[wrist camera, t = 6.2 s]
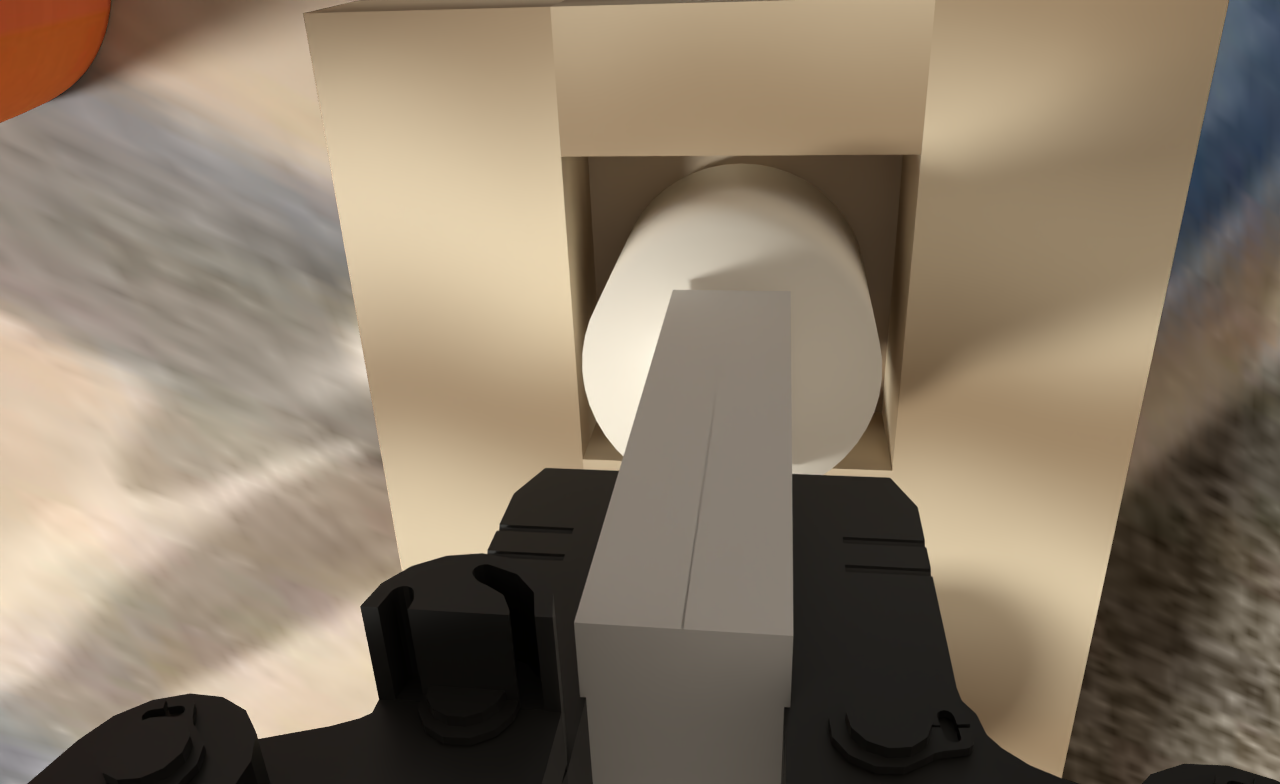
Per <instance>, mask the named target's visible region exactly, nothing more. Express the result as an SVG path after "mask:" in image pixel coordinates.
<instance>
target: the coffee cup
mask: <svg viewBox="0 0 1280 784" xmlns="http://www.w3.org/2000/svg"><path fill="white" fill-rule="evenodd" d="M110 7H111V0H0V123H1V122H3V121H6V120H8V119H10V118H13V117H15V116H18V115H20V114H22V113H25V112H27V111H29V110H31V109H33V108H35V107H37V106H40V105H42V104H44V103H46V102H48V101H50V100H52V99H53V98H55V97H57V96H58V95H60V94H61V93H63V92H64V91H66V90H67V89H68V88H70V87H71V86H72V85H73V84H74V83H75V82H77V81H78V80H79V79H80V78H81V76H82V75H83V74H84V73H85V72H86V71H87V69H88V68H89V66H90V65H91V64H92V62H93V60H94V58H95V57H96V55H97V53H98V51H99V49H100V46H101V44H102V41H103V39H104V36H105V33H106V29H107V25H108V20H109V14H110Z"/></svg>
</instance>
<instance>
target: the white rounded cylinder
mask: <svg viewBox="0 0 1280 784" xmlns="http://www.w3.org/2000/svg"><path fill="white" fill-rule="evenodd" d="M673 290H738V291H791V400H792V474H809V475H824V474H825V473H827V472H828V471H830V470H831V469H832V468H833V467H834V466H836V465H837V464H838V463H839V462H840V461H841V460H842V459H844V458H845V457H846V455H847V454H848V453H849V452H850V451H851V450H852V449H853V447H854V446H855V445H856V444H857V442H858V441H859V439H860V438H861V436H862V435H863V433H864V432H865V430H866V429H867V427H868V425H869V422H870V420H871V418H872V416H873V414H874V411H875V408H876V405H877V402H878V398H879V394H880V388H881V381H882V356H881V349H880V342H879V337H878V333H877V328H876V323H875V318H874V314H873V309H872V304H871V299H870V295H869V290H868V285H867V280H866V276H865V271H864V266H863V261H862V257H861V253H860V249H859V246H858V243H857V240H856V237H855V235H854V233H853V231H852V229H851V226H850V225H849V223H848V222H847V220H846V218H845V217H844V215H843V214H842V212H841V211H840V210H839V209H838V208H837V206H836V205H835V204H834V203H833V202H832V201H831V200H830V199H829V198H828V197H827V196H826V195H825V194H824V193H823V192H821V191H820V190H819V189H818V188H816V187H815V186H813V185H812V184H810V183H809V182H807V181H806V180H804V179H802V178H800V177H798V176H796V175H794V174H792V173H789V172H786V171H783V170H780V169H777V168H774V167H769V166H764V165H758V164H743V163H740V164H725V165H720V166H715V167H710V168H706V169H703V170H701V171H698V172H695V173H692V174H690V175H688V176H686V177H684V178H682V179H680V180H678V181H676V182H675V183H674V184H672V185H671V186H669V187H668V188H666V189H665V190H664V191H662V192H661V193H660V194H659V195H658V196H657V197H656V198H655V199H653V200H652V202H651V203H650V204H649V205H648V206H647V207H646V209H645V210H644V211H643V212H642V214H641V215H640V217H639V218H638V220H637V221H636V223H635V225H634V227H633V229H632V231H631V233H630V235H629V237H628V239H627V241H626V244H625V246H624V248H623V250H622V252H621V254H620V256H619V258H618V261H617V263H616V265H615V267H614V269H613V271H612V273H611V275H610V278H609V280H608V282H607V284H606V286H605V288H604V290H603V292H602V295H601V297H600V299H599V301H598V303H597V305H596V307H595V310H594V312H593V314H592V316H591V318H590V321H589V324H588V328H587V331H586V334H585V339H584V346H583V353H582V372H583V379H584V387H585V391H586V394H587V398H588V401H589V405H590V407H591V410H592V412H593V414H594V416H595V419H596V421H597V423H598V424H599V426H600V428H601V429H602V431H603V433H604V434H605V436H606V437H607V438H608V440H609V441H610V442H611V443H612V445H613V446H614V447H615V448H616V450H617V451H618V452H619V453H620V454H621V455H622V456H624V453H625V449H626V446H627V442H628V439H629V436H630V432H631V429H632V426H633V422H634V419H635V415H636V412H637V409H638V405H639V402H640V399H641V395H642V392H643V389H644V385H645V382H646V378H647V375H648V372H649V368H650V365H651V362H652V358H653V355H654V352H655V348H656V345H657V341H658V338H659V335H660V331H661V328H662V325H663V321H664V318H665V315H666V311H667V308H668V304H669V301H670V298H671V294H672V291H673Z"/></svg>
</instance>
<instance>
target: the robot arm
mask: <svg viewBox="0 0 1280 784" xmlns="http://www.w3.org/2000/svg"><path fill="white" fill-rule="evenodd" d="M360 607H361V612H362V617H363V622H364V627H365V632H366V637H367V641H368V646H369V651H370V656H371V661H372V666H373V671H374V676H375V681H376V686H377V691H378V696H379V701H378V703H377V705H376V707H375V709H374V711H373V713H371V714H369V715H366V716H364V717H362V718H360V719H356V720H352V721H348V722H345V723H341V724H337V725H333V726H329V727H323V728H318V729H312V730H307V731H301V732H295V733H290V734H284V735H279V736H273V737H268V738H262V739H258V738H257V734H256V731H255V729H254V727H253V725H252V723H251V721H250V718H249V716H248V714H247V712H246V710H244V709H242V708H241V707H239V706H237V705H236V704H234V703H232V702H230V701H229V700H227V699H225V698H223V697H217V696H208V695H198V694H185V695H179V696H174V697H168V698H162V699H156V700H152V701H149V702H147V703H144V704H142V705H139V706H137V707H135V708H132V709H130V710H127V711H125V712H122V713H120V714H117V715H115V716H113V717H112V718H110V719H109V720H107V721H106V722H104V723H103V724H101V725H100V726H98V727H97V728H95V729H94V730H92V731H91V732H89V733H88V734H86V735H85V736H84V737H82V738H81V739H79V740H78V741H77V742H75V743H74V744H73V745H72V746H71V747H70V748H68V749H67V750H66V751H65V752H64V753H63V754H61V755H60V756H59V757H58V758H57V759H56V760H54V761H53V762H52V763H51V764H50V765H49V766H47V767H46V768H45V769H44V770H43V771H42V772H40V773H39V774H38V775H37V776H36V777H35V778H33V779H32V780H31V781H30V782H29V783H28V784H1078V783H1075V782H1071V781H1068V780H1065V779H1062V778H1060V777H1057V776H1055V775H1052V774H1050V773H1048V772H1045V771H1043V770H1040V769H1038V768H1035V767H1033V766H1031V765H1029V764H1027V763H1025V762H1024V761H1022V760H1021V759H1019V758H1017V757H1016V756H1014V755H1012V754H1011V753H1009V752H1008V751H1006V750H1004V749H1003V748H1001V747H1000V746H999V745H998V744H997V743H996V742H995V741H993V740H992V739H991V738H990V737H989V736H988V735H987V734H986V732H985V730H984V728H983V726H982V724H981V722H980V720H979V718H978V716H977V714H976V713H975V712H974V711H973V710H972V709H970V708H969V707H968V706H967V705H966V704H965V703H964V702H963V701H962V700H961V697H960V695H959V692H958V690H957V687H956V682H955V677H954V673H953V668H952V664H951V659H950V654H949V650H948V645H947V640H946V636H945V631H944V626H943V622H942V617H941V613H940V608H939V603H938V599H937V594H936V589H935V585H934V580H933V576H931V566H930V562H929V557H928V552H927V548H926V547H925V538H924V534H923V529H922V524H921V520H920V515H919V511H918V507H917V506H916V505H915V504H914V502H913V501H912V500H911V499H910V498H909V497H908V496H907V495H906V494H905V493H904V492H903V491H902V490H901V489H900V488H899V486H898V485H897V484H896V483H895V482H894V481H893V480H892V479H891V478H887V477H861V476H835V475H809V474H792V400H791V291H738V290H673V291H672V294H671V298H670V301H669V304H668V308H667V311H666V315H665V318H664V321H663V325H662V328H661V331H660V335H659V338H658V341H657V345H656V348H655V352H654V355H653V358H652V362H651V365H650V368H649V372H648V375H647V378H646V382H645V385H644V389H643V392H642V395H641V399H640V402H639V405H638V409H637V412H636V415H635V419H634V422H633V426H632V429H631V432H630V436H629V439H628V442H627V446H626V449H625V453H624V456H623V459H622V463H621V466H620V469H619V471H615V470H589V469H563V468H544V469H543V470H542V471H541V472H540V473H538V474H537V475H536V476H535V477H533V478H532V479H531V480H530V481H528V482H527V483H526V484H525V485H524V486H522V487H521V488H520V489H519V490H517V491H516V492H515V493H514V494H513V496H512V498H511V500H510V503H509V505H508V507H507V509H506V511H505V513H504V516H503V518H502V520H501V522H500V524H499V531H496V533H495V535H494V537H493V539H492V541H491V544H490V546H489V548H488V550H487V554H484V553H478V554H464V555H449V556H444V557H440V558H437V559H434V560H430V561H427V562H423V563H420V564H417V565H413V566H411V567H409V568H407V569H406V570H404V571H402V572H400V573H399V574H397V575H395V576H393V577H392V578H390V579H388V580H387V581H385V582H383V583H381V584H380V585H379V587H378V588H377V589H376V590H375V591H374V592H373V593H372V594H371V595H370V596H369V597H368V599H367V600H366V601H365V602H364V603H363V604H362V605H361V606H360ZM1142 784H1280V782H1278V781H1276V780H1273V779H1270V778H1267V777H1263V776H1260V775H1257V774H1253V773H1250V772H1247V771H1243V770H1240V769H1237V768H1233V767H1230V766H1221V765H1199V764H1182V765H1179V766H1176V767H1173V768H1170V769H1166V770H1163V771H1160V772H1157V773H1154V774H1151V775H1150V776H1149V777H1148V778H1147V779H1146V780H1145V781H1144V782H1143V783H1142Z"/></svg>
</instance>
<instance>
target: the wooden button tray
mask: <svg viewBox="0 0 1280 784" xmlns="http://www.w3.org/2000/svg"><path fill="white" fill-rule="evenodd" d="M1228 3H1229V0H359V1H354V2H350V3H346V4H342V5H337V6H333V7H329V8H324V9H320V10H316V11H311V12H307V13H303V15H304V21H305V27H306V32H307V38H308V44H309V49H310V55H311V61H312V66H313V72H314V77H315V83H316V89H317V94H318V100H319V106H320V111H321V117H322V123H323V128H324V134H325V140H326V145H327V151H328V156H329V162H330V168H331V173H332V179H333V185H334V190H335V196H336V202H337V207H338V213H339V219H340V224H341V230H342V235H343V241H344V247H345V252H346V258H347V264H348V269H349V275H350V281H351V286H352V292H353V298H354V303H355V309H356V314H357V320H358V326H359V331H360V337H361V343H362V348H363V354H364V360H365V365H366V371H367V377H368V382H369V388H370V393H371V399H372V405H373V410H374V416H375V422H376V427H377V433H378V439H379V444H380V450H381V456H382V461H383V467H384V472H385V478H386V484H387V489H388V495H389V501H390V506H391V512H392V518H393V523H394V529H395V535H396V540H397V546H398V552H399V557H400V563H401V568H402V571H404V570H406V569H407V568H409V567H411V566H413V565H417V564H420V563H423V562H427V561H430V560H434V559H437V558H440V557H444V556H449V555H464V554H478V553H484V554H487V550H488V548H489V546H490V544H491V541H492V539H493V537H494V535H495V533H496V531H499V524H500V522H501V520H502V518H503V516H504V513H505V511H506V509H507V507H508V505H509V503H510V500H511V498H512V496H513V494H514V493H515V492H516V491H517V490H519V489H520V488H521V487H522V486H524V485H525V484H526V483H527V482H528V481H530V480H531V479H532V478H533V477H535V476H536V475H537V474H538V473H540V472H541V471H542V470H543V469H544V468H563V469H589V470H615V471H619V469H620V466H621V463H622V459H623V456H622V455H621V454H620V453H619V452H618V451H617V450H616V448H615V447H614V446H613V445H612V443H611V442H610V441H609V440H608V438H607V437H606V436H605V434H604V433H603V431H602V429H601V428H600V426H599V424H598V423H597V421H596V419H595V416H594V414H593V412H592V410H591V407H590V405H589V401H588V398H587V394H586V391H585V387H584V379H583V372H582V353H583V346H584V339H585V334H586V331H587V328H588V324H589V321H590V318H591V316H592V314H593V312H594V310H595V307H596V305H597V303H598V301H599V299H600V297H601V295H602V292H603V290H604V288H605V286H606V284H607V282H608V280H609V278H610V275H611V273H612V271H613V269H614V267H615V265H616V263H617V261H618V258H619V256H620V254H621V252H622V250H623V248H624V246H625V244H626V241H627V239H628V237H629V235H630V233H631V231H632V229H633V227H634V225H635V223H636V221H637V220H638V218H639V217H640V215H641V214H642V212H643V211H644V210H645V209H646V207H647V206H648V205H649V204H650V203H651V202H652V200H653V199H655V198H656V197H657V196H658V195H659V194H660V193H661V192H662V191H664V190H665V189H666V188H668V187H669V186H671V185H672V184H674V183H675V182H676V181H678V180H680V179H682V178H684V177H686V176H688V175H690V174H692V173H695V172H698V171H701V170H703V169H706V168H710V167H715V166H720V165H725V164H740V163H743V164H758V165H764V166H769V167H774V168H777V169H780V170H783V171H786V172H789V173H792V174H794V175H796V176H798V177H800V178H802V179H804V180H806V181H807V182H809V183H810V184H812V185H813V186H815V187H816V188H818V189H819V190H820V191H821V192H823V193H824V194H825V195H826V196H827V197H828V198H829V199H830V200H831V201H832V202H833V203H834V204H835V205H836V206H837V208H838V209H839V210H840V211H841V212H842V214H843V215H844V217H845V218H846V220H847V222H848V223H849V225H850V226H851V229H852V231H853V233H854V235H855V237H856V240H857V243H858V246H859V249H860V253H861V257H862V261H863V266H864V271H865V276H866V280H867V285H868V290H869V295H870V299H871V304H872V309H873V314H874V318H875V323H876V328H877V333H878V337H879V342H880V349H881V356H882V381H881V388H880V394H879V398H878V402H877V405H876V408H875V411H874V414H873V416H872V418H871V420H870V422H869V425H868V427H867V429H866V430H865V432H864V433H863V435H862V436H861V438H860V439H859V441H858V442H857V444H856V445H855V446H854V447H853V449H852V450H851V451H850V452H849V453H848V454H847V455H846V457H845V458H844V459H842V460H841V461H840V462H839V463H838V464H837V465H836V466H834V467H833V468H832V469H831V470H830V471H828V472H827V473H825V474H824V475H835V476H861V477H887V478H891V479H892V480H893V481H894V482H895V483H896V484H897V485H898V486H899V488H900V489H901V490H902V491H903V492H904V493H905V494H906V495H907V496H908V497H909V498H910V499H911V500H912V501H913V502H914V504H915V505H916V506H917V507H918V511H919V515H920V520H921V524H922V529H923V534H924V538H925V547H926V548H927V552H928V557H929V562H930V566H931V576H933V580H934V585H935V589H936V594H937V599H938V603H939V608H940V613H941V617H942V622H943V626H944V631H945V636H946V640H947V645H948V650H949V654H950V659H951V664H952V668H953V673H954V677H955V682H956V687H957V690H958V692H959V695H960V697H961V700H962V701H963V702H964V703H965V704H966V705H967V706H968V707H969V708H970V709H972V710H973V711H974V712H975V713H976V714H977V716H978V718H979V720H980V722H981V724H982V726H983V728H984V730H985V732H986V734H987V735H988V736H989V737H990V738H991V739H992V740H993V741H995V742H996V743H997V744H998V745H999V746H1000V747H1001V748H1003V749H1004V750H1006V751H1008V752H1009V753H1011V754H1012V755H1014V756H1016V757H1017V758H1019V759H1021V760H1022V761H1024V762H1025V763H1027V764H1029V765H1031V766H1033V767H1035V768H1038V769H1040V770H1043V771H1045V772H1048V773H1050V774H1052V775H1055V776H1057V777H1060V778H1062V774H1063V769H1064V764H1065V760H1066V755H1067V751H1068V746H1069V741H1070V737H1071V732H1072V727H1073V723H1074V718H1075V713H1076V709H1077V704H1078V699H1079V695H1080V690H1081V686H1082V681H1083V676H1084V672H1085V667H1086V662H1087V658H1088V653H1089V648H1090V644H1091V639H1092V634H1093V630H1094V625H1095V621H1096V616H1097V611H1098V607H1099V602H1100V597H1101V593H1102V588H1103V583H1104V579H1105V574H1106V569H1107V565H1108V560H1109V556H1110V551H1111V546H1112V542H1113V537H1114V532H1115V528H1116V523H1117V518H1118V514H1119V509H1120V504H1121V500H1122V495H1123V491H1124V486H1125V481H1126V477H1127V472H1128V467H1129V463H1130V458H1131V453H1132V449H1133V444H1134V439H1135V435H1136V430H1137V426H1138V421H1139V416H1140V412H1141V407H1142V402H1143V398H1144V393H1145V388H1146V384H1147V379H1148V374H1149V370H1150V365H1151V361H1152V356H1153V351H1154V347H1155V342H1156V337H1157V333H1158V328H1159V323H1160V319H1161V314H1162V309H1163V305H1164V300H1165V296H1166V291H1167V286H1168V282H1169V277H1170V272H1171V268H1172V263H1173V258H1174V254H1175V249H1176V244H1177V240H1178V235H1179V231H1180V226H1181V221H1182V217H1183V212H1184V207H1185V203H1186V198H1187V193H1188V189H1189V184H1190V179H1191V175H1192V170H1193V166H1194V161H1195V156H1196V152H1197V147H1198V142H1199V138H1200V133H1201V128H1202V124H1203V119H1204V114H1205V110H1206V105H1207V101H1208V96H1209V91H1210V87H1211V82H1212V77H1213V73H1214V68H1215V63H1216V59H1217V54H1218V50H1219V45H1220V40H1221V36H1222V31H1223V26H1224V22H1225V17H1226V12H1227V8H1228Z"/></svg>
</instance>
